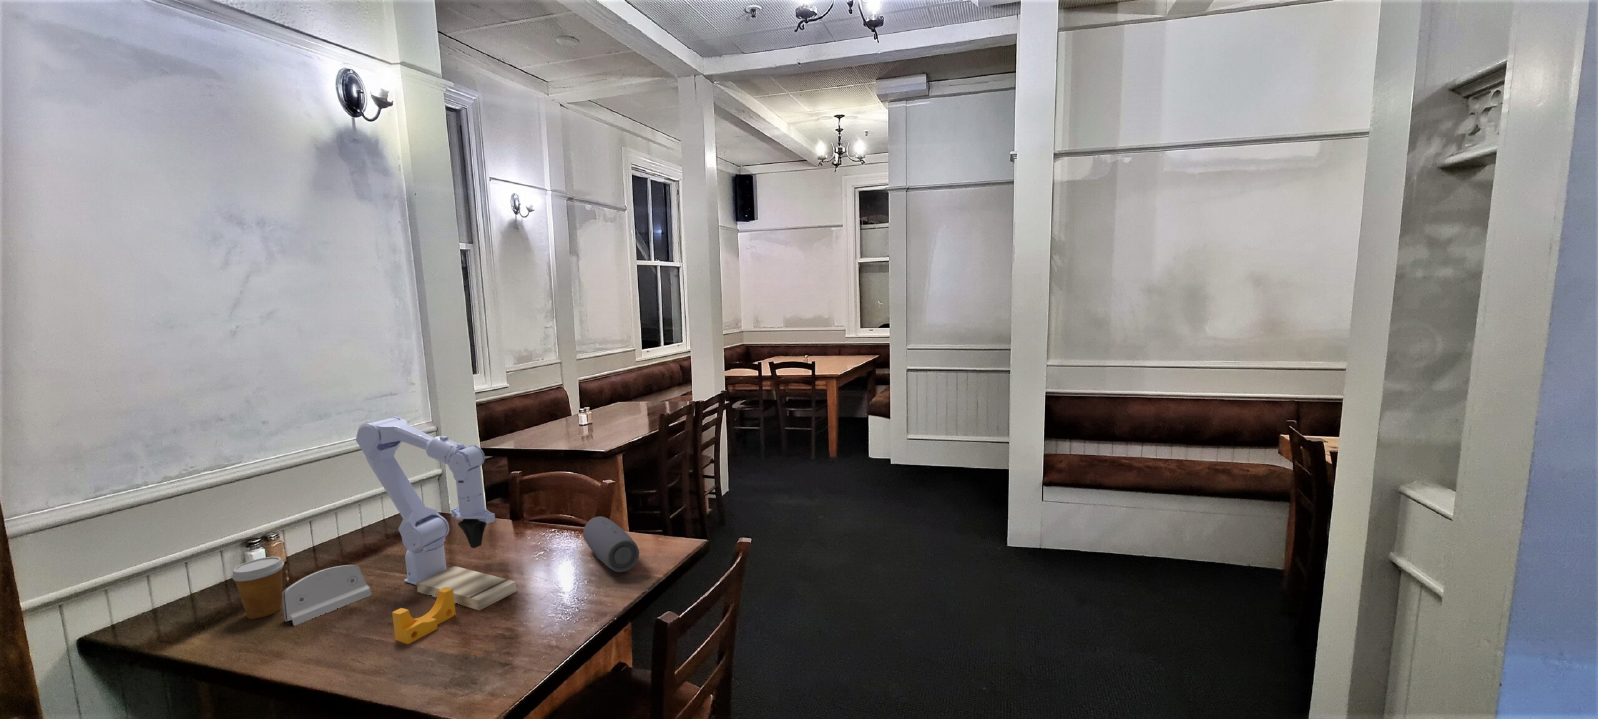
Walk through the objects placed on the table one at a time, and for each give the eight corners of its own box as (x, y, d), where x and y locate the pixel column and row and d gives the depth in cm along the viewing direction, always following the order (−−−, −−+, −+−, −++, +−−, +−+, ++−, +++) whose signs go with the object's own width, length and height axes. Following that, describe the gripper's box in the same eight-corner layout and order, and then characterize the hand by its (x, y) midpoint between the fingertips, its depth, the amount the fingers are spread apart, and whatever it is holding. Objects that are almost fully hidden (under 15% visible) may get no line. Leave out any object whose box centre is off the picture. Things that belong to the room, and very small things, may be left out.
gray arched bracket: (292, 626, 140) (280, 584, 140) (285, 628, 142) (273, 586, 143) (373, 594, 154) (362, 555, 155) (366, 596, 156) (355, 558, 157)
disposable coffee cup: (299, 604, 150) (292, 557, 149) (254, 624, 141) (246, 575, 140) (274, 600, 153) (267, 554, 152) (228, 619, 145) (220, 570, 143)
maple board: (417, 591, 154) (416, 582, 154) (455, 574, 163) (454, 565, 162) (479, 610, 143) (478, 599, 142) (516, 591, 152) (515, 581, 151)
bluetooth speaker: (643, 570, 160) (640, 533, 158) (607, 581, 154) (604, 543, 153) (615, 544, 178) (612, 510, 177) (582, 552, 173) (579, 518, 172)
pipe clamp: (408, 644, 130) (404, 615, 129) (395, 640, 132) (392, 612, 131) (460, 616, 141) (457, 590, 140) (448, 613, 142) (445, 586, 142)
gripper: (437, 496, 155) (443, 548, 157) (474, 503, 149) (480, 556, 150) (463, 488, 162) (469, 537, 163) (500, 494, 155) (505, 545, 156)
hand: (476, 546), depth 157 cm, fingers closed
